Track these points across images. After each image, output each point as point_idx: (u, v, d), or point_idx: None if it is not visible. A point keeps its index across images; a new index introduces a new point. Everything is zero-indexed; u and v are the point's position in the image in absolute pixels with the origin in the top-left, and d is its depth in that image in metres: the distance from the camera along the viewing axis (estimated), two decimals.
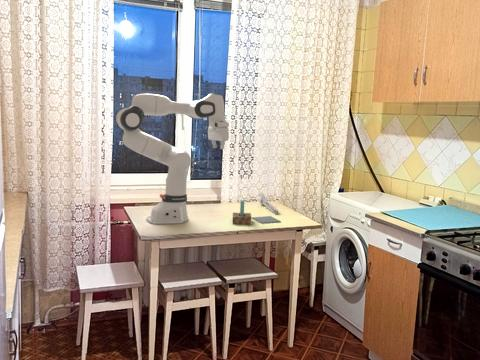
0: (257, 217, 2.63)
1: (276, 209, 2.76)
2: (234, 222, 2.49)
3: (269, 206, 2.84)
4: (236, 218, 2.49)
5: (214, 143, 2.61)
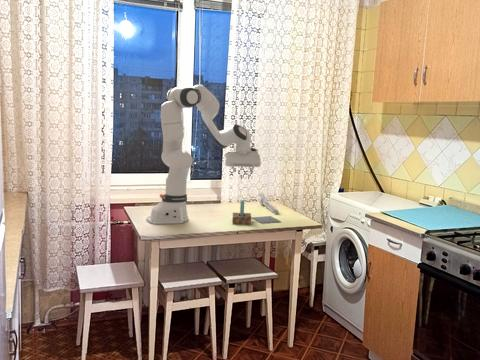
0: (257, 217, 2.63)
1: (276, 209, 2.76)
2: (234, 222, 2.49)
3: (269, 206, 2.84)
4: (236, 218, 2.49)
5: None
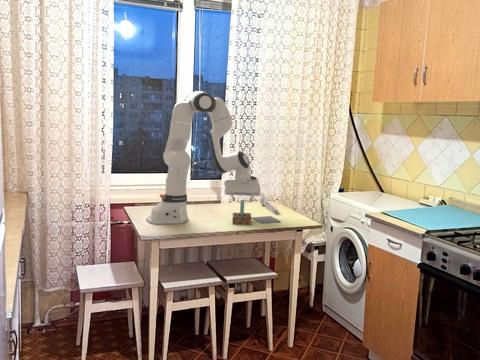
0: (257, 217, 2.63)
1: (276, 209, 2.76)
2: (234, 222, 2.49)
3: (269, 206, 2.84)
4: (236, 218, 2.49)
5: None
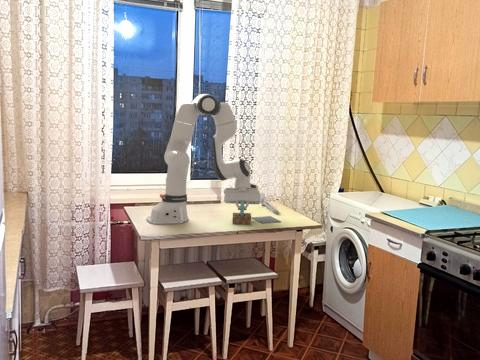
0: (257, 217, 2.63)
1: (276, 209, 2.76)
2: (234, 222, 2.49)
3: (269, 206, 2.84)
4: (236, 218, 2.49)
5: None
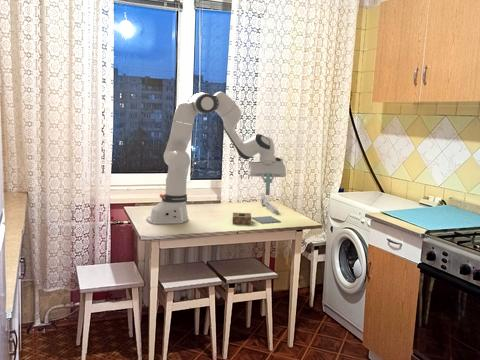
0: (257, 217, 2.63)
1: (276, 209, 2.76)
2: (234, 222, 2.49)
3: (270, 206, 2.84)
4: (236, 218, 2.49)
5: None
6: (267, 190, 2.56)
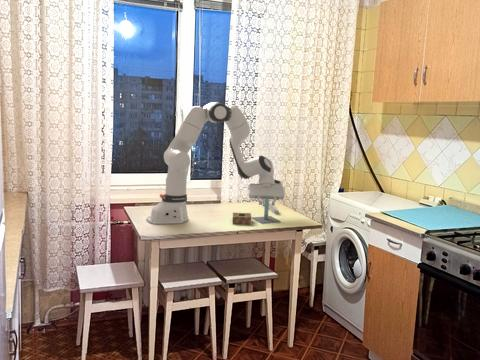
0: (257, 217, 2.63)
1: (276, 209, 2.75)
2: (234, 222, 2.49)
3: (270, 206, 2.84)
4: (236, 218, 2.49)
5: None
6: (265, 215, 2.58)
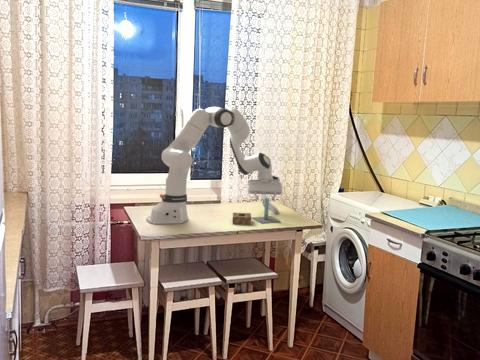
0: (257, 217, 2.63)
1: (277, 209, 2.75)
2: (234, 222, 2.49)
3: (270, 206, 2.84)
4: (236, 218, 2.49)
5: None
6: (265, 215, 2.58)
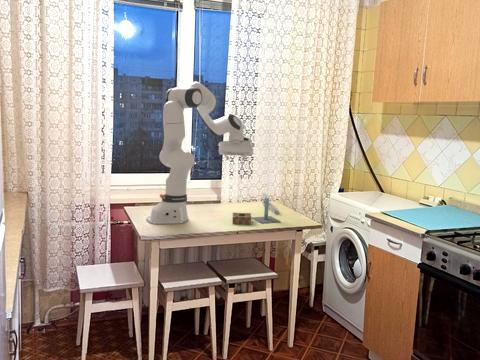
0: (257, 217, 2.63)
1: (277, 209, 2.75)
2: (234, 222, 2.49)
3: (270, 206, 2.83)
4: (236, 218, 2.49)
5: None
6: (265, 215, 2.58)
